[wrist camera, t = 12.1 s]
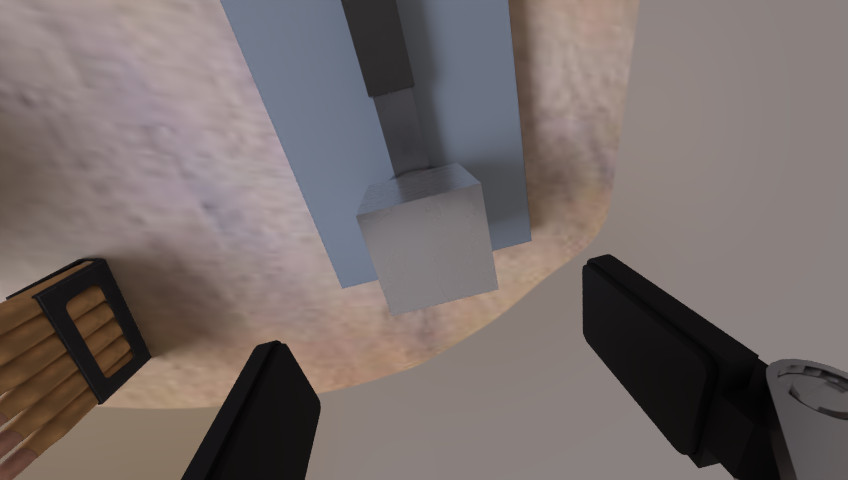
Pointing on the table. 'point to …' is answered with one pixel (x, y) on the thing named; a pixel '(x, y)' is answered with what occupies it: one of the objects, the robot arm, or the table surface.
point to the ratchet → (388, 80)
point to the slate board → (358, 120)
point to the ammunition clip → (61, 356)
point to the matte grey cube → (428, 238)
